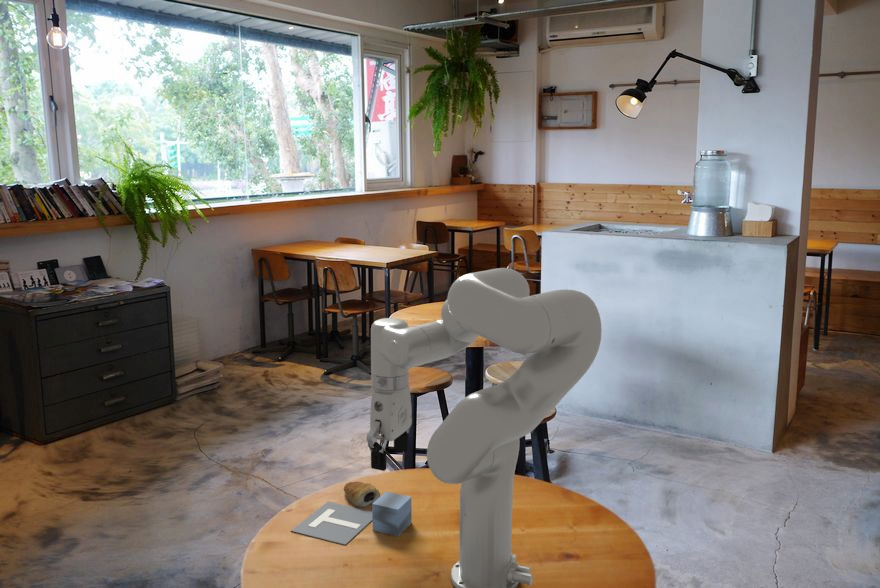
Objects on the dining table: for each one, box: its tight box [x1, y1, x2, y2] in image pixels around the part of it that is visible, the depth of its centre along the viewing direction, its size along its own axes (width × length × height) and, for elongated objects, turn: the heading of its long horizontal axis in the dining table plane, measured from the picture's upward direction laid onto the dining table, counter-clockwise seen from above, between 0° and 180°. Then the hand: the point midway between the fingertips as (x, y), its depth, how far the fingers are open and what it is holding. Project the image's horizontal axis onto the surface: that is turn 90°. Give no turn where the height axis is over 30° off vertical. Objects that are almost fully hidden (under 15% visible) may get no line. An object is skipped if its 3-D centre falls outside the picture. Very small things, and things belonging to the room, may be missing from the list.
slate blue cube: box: [371, 491, 413, 537], centre depth 159 cm, size 6×6×6 cm
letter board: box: [290, 501, 373, 546], centre depth 161 cm, size 13×14×1 cm
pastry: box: [343, 481, 381, 508], centre depth 172 cm, size 9×7×4 cm
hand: (390, 459), depth 157 cm, fingers open, 9 cm apart
